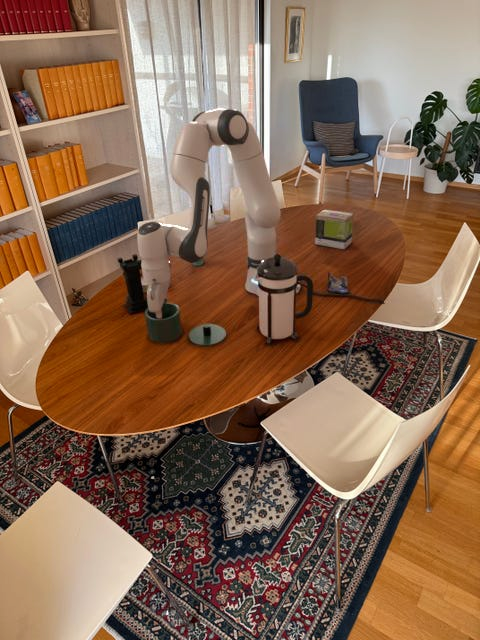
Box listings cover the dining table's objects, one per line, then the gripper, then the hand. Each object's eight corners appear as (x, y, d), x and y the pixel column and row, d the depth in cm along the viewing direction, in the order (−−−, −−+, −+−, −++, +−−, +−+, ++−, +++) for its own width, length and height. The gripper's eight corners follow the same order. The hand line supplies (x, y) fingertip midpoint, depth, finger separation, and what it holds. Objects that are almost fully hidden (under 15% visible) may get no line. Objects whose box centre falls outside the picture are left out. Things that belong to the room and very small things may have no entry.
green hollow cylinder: (184, 325, 168) (181, 302, 163) (179, 343, 158) (176, 320, 153) (152, 325, 169) (148, 302, 163) (145, 344, 159) (141, 320, 154)
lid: (227, 326, 166) (226, 315, 163) (224, 347, 155) (224, 336, 153) (191, 327, 167) (190, 315, 164) (186, 348, 156) (185, 336, 153)
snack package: (357, 286, 187) (331, 278, 193) (358, 273, 183) (331, 265, 189) (344, 303, 181) (317, 294, 186) (345, 290, 176) (317, 281, 182)
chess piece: (131, 314, 176) (121, 266, 165) (125, 305, 182) (115, 258, 171) (151, 308, 179) (143, 261, 168) (144, 299, 185) (137, 253, 174)
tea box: (351, 242, 224) (354, 212, 216) (344, 250, 217) (346, 219, 209) (322, 237, 231) (324, 208, 223) (314, 244, 224) (315, 214, 216)
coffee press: (289, 352, 151) (291, 269, 135) (247, 339, 159) (244, 258, 143) (311, 326, 164) (316, 247, 148) (271, 315, 171) (271, 238, 155)
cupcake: (185, 266, 209) (182, 241, 203) (194, 258, 216) (191, 234, 209) (202, 268, 206) (200, 243, 200) (210, 260, 213) (208, 236, 207)
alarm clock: (152, 271, 199) (173, 276, 189) (154, 282, 201) (175, 287, 191) (130, 281, 192) (150, 286, 182) (133, 292, 194) (153, 297, 184)
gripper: (160, 288, 142) (166, 326, 149) (171, 259, 159) (175, 294, 166) (139, 288, 142) (146, 326, 149) (152, 259, 159) (158, 295, 167)
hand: (162, 309), depth 158 cm, fingers open, 8 cm apart
